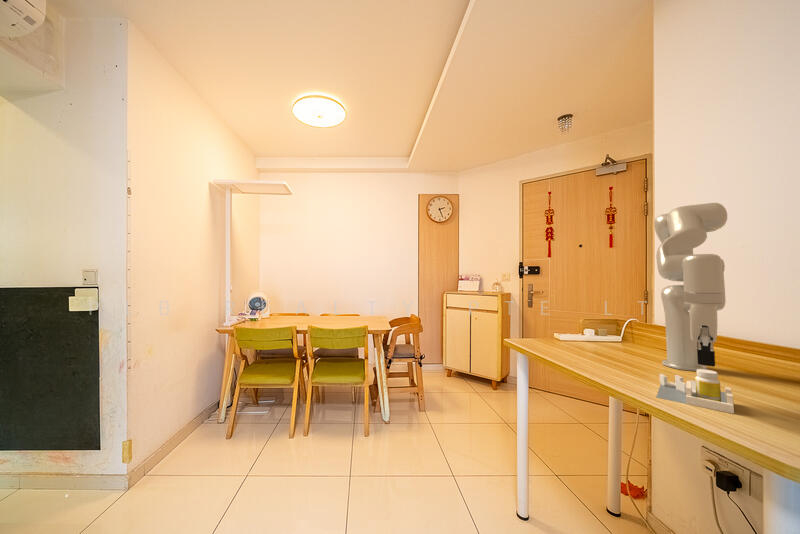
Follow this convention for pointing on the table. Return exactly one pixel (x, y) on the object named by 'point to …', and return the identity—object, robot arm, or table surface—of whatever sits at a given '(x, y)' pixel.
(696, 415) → the table surface
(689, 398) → the end holder
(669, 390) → the board
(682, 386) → the clip
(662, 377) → the clip
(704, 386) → the supplement bottle
